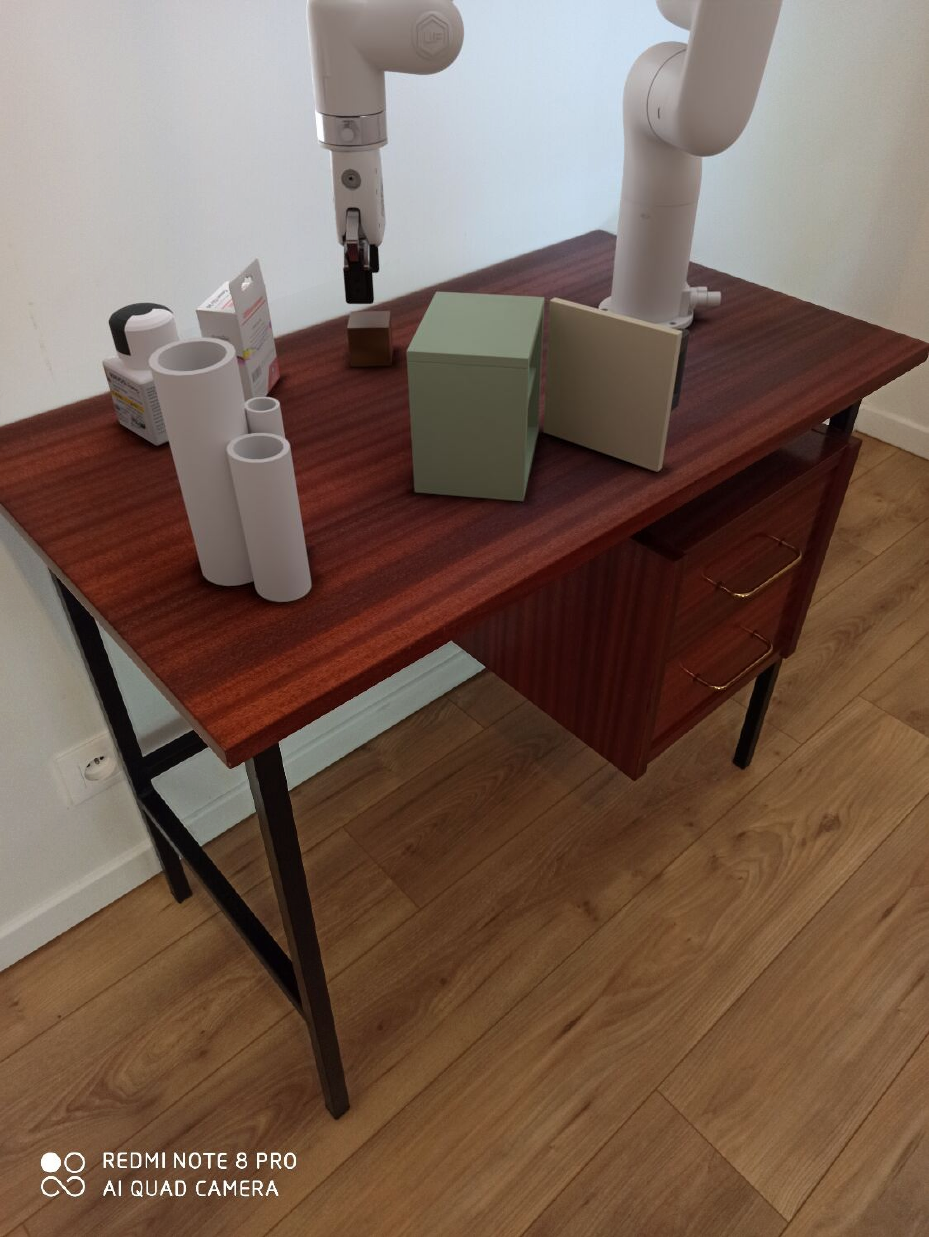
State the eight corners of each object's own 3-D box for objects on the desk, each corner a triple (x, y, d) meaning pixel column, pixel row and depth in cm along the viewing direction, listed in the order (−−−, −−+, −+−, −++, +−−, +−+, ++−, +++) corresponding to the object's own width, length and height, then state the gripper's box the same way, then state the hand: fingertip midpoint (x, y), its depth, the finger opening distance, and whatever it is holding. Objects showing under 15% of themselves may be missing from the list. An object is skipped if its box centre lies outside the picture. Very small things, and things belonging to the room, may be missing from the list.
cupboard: (538, 431, 100) (544, 296, 90) (523, 501, 90) (528, 358, 80) (440, 424, 102) (436, 291, 92) (414, 492, 91) (406, 350, 81)
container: (118, 424, 103) (85, 311, 94) (177, 400, 107) (150, 290, 98) (157, 447, 99) (126, 332, 90) (216, 421, 103) (192, 309, 94)
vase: (186, 576, 81) (129, 367, 68) (231, 532, 86) (187, 330, 73) (295, 607, 78) (257, 393, 65) (336, 560, 83) (309, 352, 70)
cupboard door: (578, 406, 104) (587, 277, 94) (689, 442, 98) (712, 308, 88) (543, 432, 100) (549, 300, 90) (657, 472, 93) (677, 334, 84)
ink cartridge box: (243, 375, 112) (220, 252, 102) (281, 378, 111) (262, 255, 101) (214, 408, 105) (187, 281, 96) (255, 412, 104) (232, 284, 95)
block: (393, 348, 117) (390, 310, 113) (391, 366, 113) (388, 327, 110) (354, 349, 117) (350, 311, 113) (350, 367, 113) (346, 328, 110)
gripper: (382, 149, 91) (390, 316, 102) (391, 109, 104) (398, 261, 115) (307, 149, 91) (324, 316, 102) (325, 109, 104) (339, 261, 115)
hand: (363, 287), depth 109 cm, fingers open, 9 cm apart
